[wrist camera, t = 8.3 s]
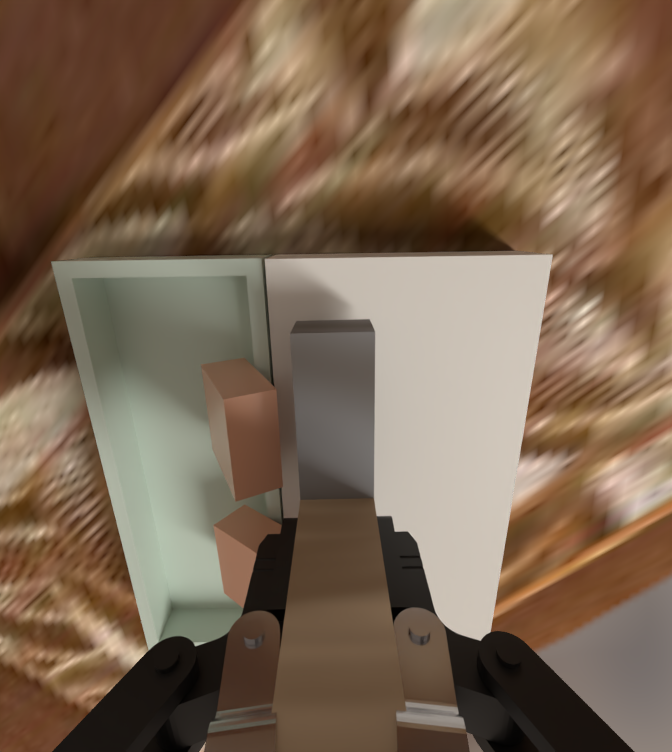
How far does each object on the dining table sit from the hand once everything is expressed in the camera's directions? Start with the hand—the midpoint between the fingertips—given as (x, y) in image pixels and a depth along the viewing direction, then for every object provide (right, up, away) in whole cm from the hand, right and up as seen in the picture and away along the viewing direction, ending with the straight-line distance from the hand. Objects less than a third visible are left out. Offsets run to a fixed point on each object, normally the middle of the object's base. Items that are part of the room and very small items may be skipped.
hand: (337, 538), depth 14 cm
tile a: (-3, +4, +2) cm, 5 cm away
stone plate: (+3, +1, +6) cm, 7 cm away
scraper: (0, +1, +2) cm, 2 cm away
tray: (-6, +1, +6) cm, 9 cm away
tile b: (-3, -3, +5) cm, 6 cm away
